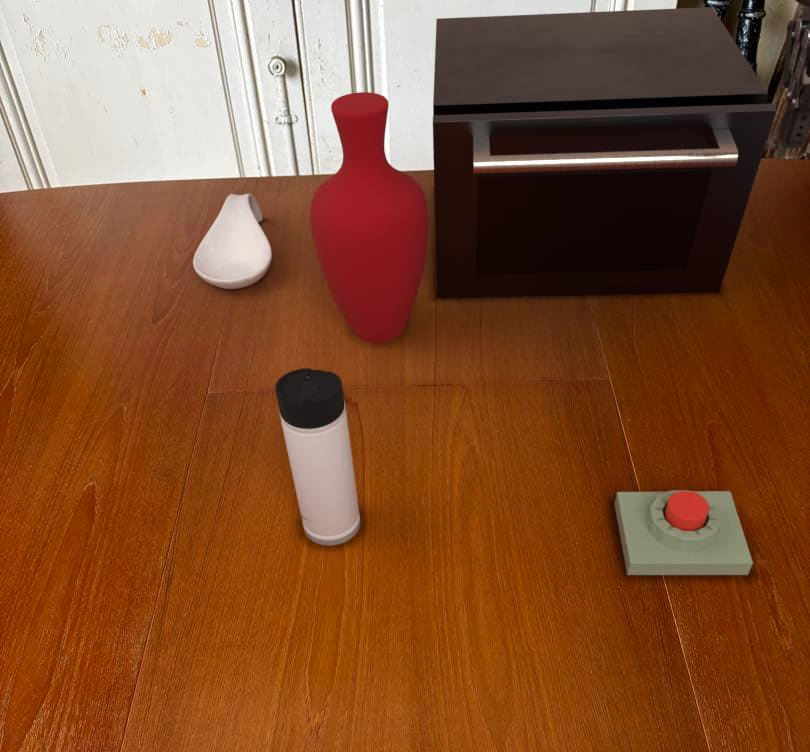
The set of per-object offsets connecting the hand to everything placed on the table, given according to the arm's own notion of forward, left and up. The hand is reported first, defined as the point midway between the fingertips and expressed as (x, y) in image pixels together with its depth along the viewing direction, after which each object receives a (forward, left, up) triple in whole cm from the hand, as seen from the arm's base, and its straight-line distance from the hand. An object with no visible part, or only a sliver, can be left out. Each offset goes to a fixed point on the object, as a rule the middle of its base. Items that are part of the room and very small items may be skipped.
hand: (789, 144), depth 81 cm
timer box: (+10, +27, -29) cm, 41 cm away
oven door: (+16, -17, -29) cm, 37 cm away
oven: (+16, -37, -29) cm, 50 cm away
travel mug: (+47, +25, -29) cm, 61 cm away
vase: (+44, -12, -29) cm, 54 cm away
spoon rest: (+67, -32, -29) cm, 80 cm away
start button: (+10, +27, -25) cm, 38 cm away
